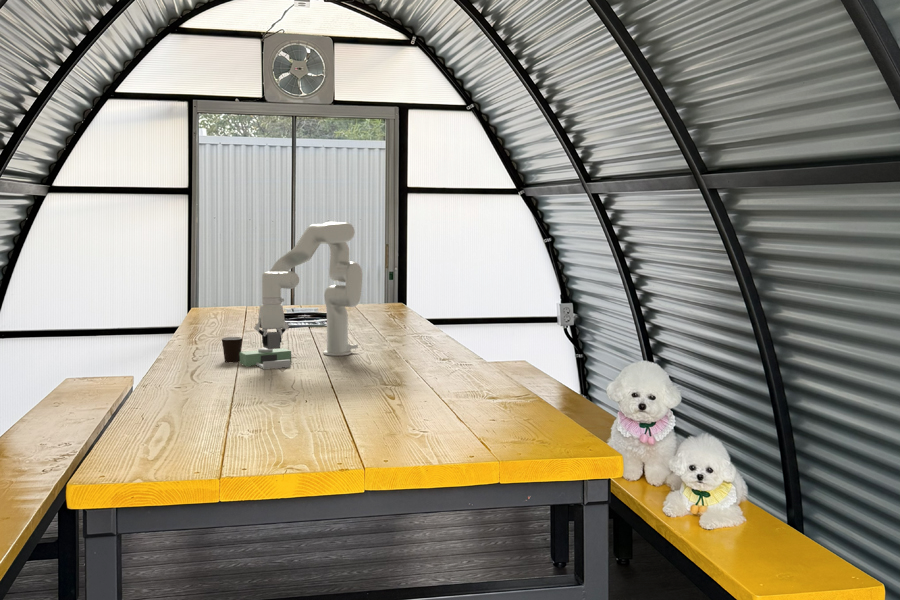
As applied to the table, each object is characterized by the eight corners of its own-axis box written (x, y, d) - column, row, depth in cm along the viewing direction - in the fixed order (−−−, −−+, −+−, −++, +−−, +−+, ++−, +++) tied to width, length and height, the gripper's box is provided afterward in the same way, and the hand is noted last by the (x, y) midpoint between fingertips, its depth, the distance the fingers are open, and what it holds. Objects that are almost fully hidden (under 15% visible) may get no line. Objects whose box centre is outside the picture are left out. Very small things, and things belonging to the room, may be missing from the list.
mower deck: (284, 359, 353) (284, 345, 352) (300, 366, 338) (300, 351, 337) (239, 363, 342) (239, 349, 342) (253, 370, 327) (253, 355, 326)
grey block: (274, 345, 341) (274, 330, 340) (280, 348, 335) (280, 332, 334) (263, 346, 338) (263, 330, 337) (268, 349, 332) (268, 332, 331)
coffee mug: (237, 363, 343) (236, 340, 342) (218, 362, 344) (218, 339, 343) (249, 358, 354) (248, 336, 353) (231, 357, 356) (230, 335, 355)
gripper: (287, 300, 342) (288, 342, 344) (248, 301, 333) (249, 345, 335) (294, 301, 336) (294, 344, 337) (254, 303, 327) (254, 347, 328)
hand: (271, 344), depth 336 cm, fingers closed on grey block, 5 cm apart
